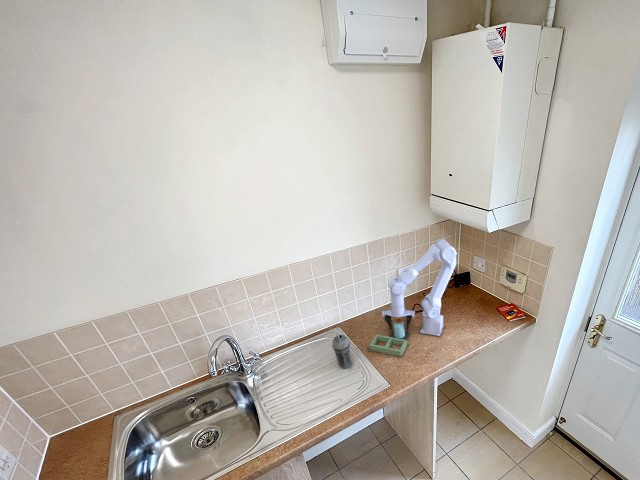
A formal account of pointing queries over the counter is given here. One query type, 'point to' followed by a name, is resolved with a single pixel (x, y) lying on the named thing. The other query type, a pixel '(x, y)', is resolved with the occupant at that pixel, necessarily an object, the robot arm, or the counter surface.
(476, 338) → the counter surface
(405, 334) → the coaster
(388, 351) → the bottle rack
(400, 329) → the bottle
